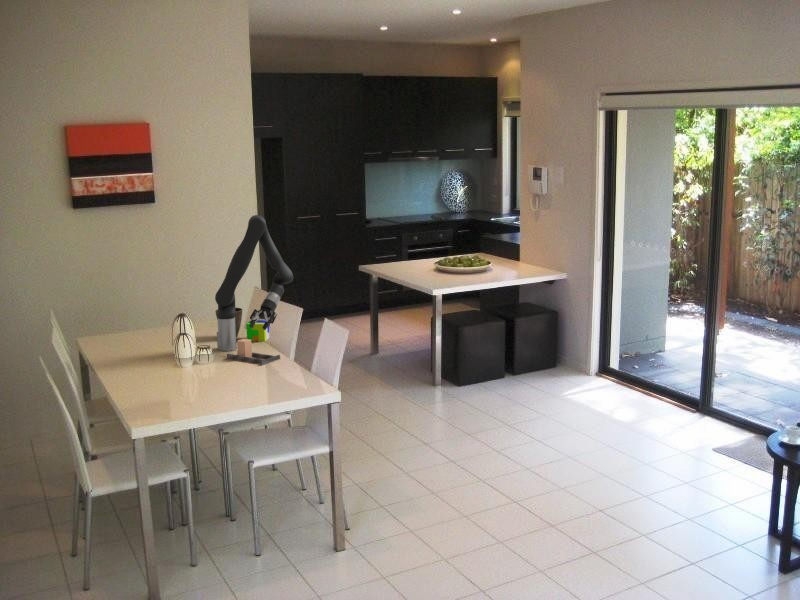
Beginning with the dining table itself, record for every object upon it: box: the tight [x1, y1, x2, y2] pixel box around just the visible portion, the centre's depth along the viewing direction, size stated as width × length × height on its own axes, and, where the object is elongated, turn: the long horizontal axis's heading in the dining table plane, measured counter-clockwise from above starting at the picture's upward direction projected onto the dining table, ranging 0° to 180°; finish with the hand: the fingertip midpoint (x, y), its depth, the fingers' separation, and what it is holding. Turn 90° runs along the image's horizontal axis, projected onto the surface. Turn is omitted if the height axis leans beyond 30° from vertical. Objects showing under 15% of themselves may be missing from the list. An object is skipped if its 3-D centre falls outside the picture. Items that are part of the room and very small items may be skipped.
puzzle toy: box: [245, 319, 270, 343], centre depth 468 cm, size 10×10×10 cm
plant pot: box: [214, 307, 243, 338], centre depth 472 cm, size 15×15×16 cm
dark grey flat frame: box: [224, 350, 281, 366], centre depth 421 cm, size 25×14×4 cm, turn 60°
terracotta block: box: [236, 338, 253, 357], centre depth 423 cm, size 5×5×9 cm
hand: (257, 328), depth 430 cm, fingers open, 8 cm apart
